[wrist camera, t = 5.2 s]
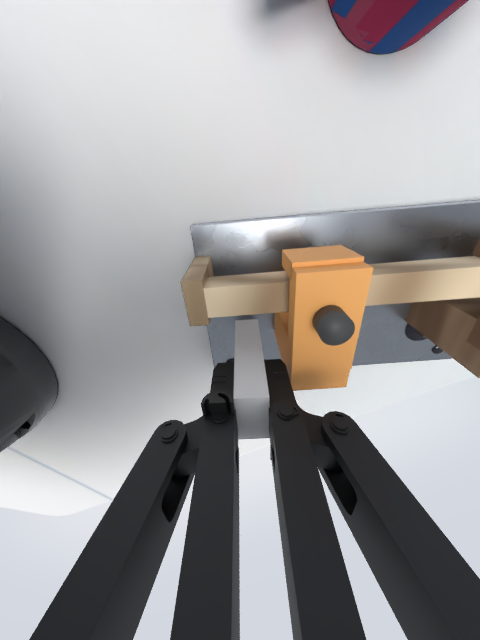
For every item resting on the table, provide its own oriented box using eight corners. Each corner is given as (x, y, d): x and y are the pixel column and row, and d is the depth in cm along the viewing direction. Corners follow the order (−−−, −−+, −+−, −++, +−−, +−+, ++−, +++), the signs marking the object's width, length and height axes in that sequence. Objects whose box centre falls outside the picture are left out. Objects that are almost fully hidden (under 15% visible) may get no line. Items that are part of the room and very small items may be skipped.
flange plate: (216, 365, 21) (215, 375, 20) (193, 224, 15) (189, 227, 14) (440, 349, 20) (452, 359, 19) (509, 197, 14) (532, 198, 13)
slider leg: (274, 344, 18) (293, 421, 12) (274, 239, 14) (303, 277, 8) (312, 342, 18) (351, 418, 12) (323, 235, 14) (389, 270, 8)
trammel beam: (210, 347, 18) (199, 424, 12) (193, 248, 14) (165, 291, 8) (466, 328, 18) (583, 399, 12) (519, 222, 14) (731, 247, 8)
